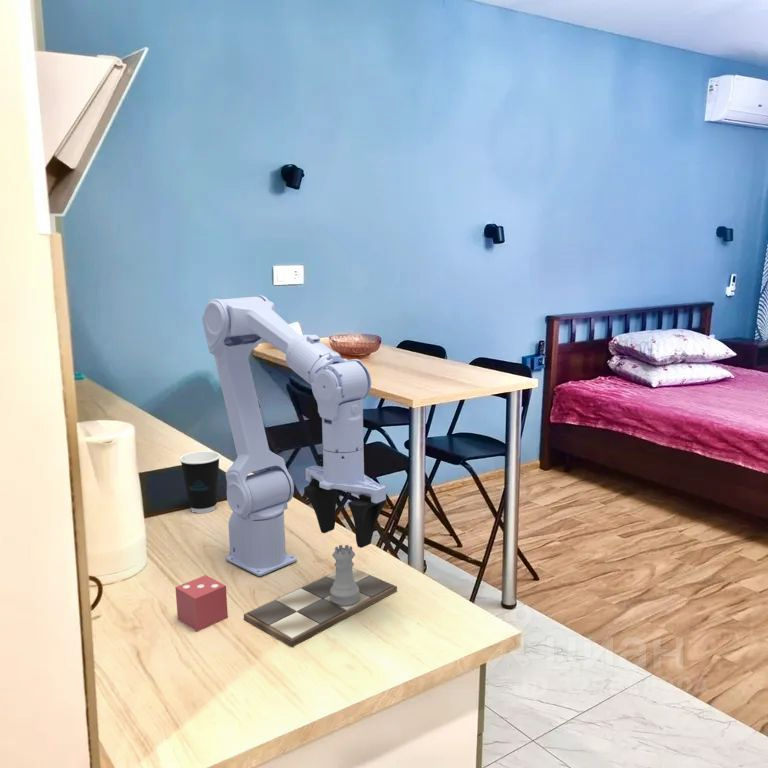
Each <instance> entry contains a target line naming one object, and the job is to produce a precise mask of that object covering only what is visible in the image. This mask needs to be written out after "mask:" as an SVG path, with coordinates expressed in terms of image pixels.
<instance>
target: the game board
mask: <svg viewBox="0 0 768 768" xmlns="http://www.w3.org/2000/svg"><path fill="white" fill-rule="evenodd" d="M352 571H353V576H354V580H355V582H356V585H357V586H358V587H359V594H360V598H359V600H358V601H357V602H356V603H355V604H353V605H349V606H339V605H336V604H334V603H333V602H332V601H331V599H330V595H331V593H330V589H331V587H332V586H333V583H334V581H335V575H336V571H334V572H332V573H329V574H328V575H326V576H324V577H321V578H319V579H317V580H314V581H313V582H310V583H309V584H306V585H305V586H302V587H300V588H297V589H295V590H293V591H291V592H288V593H286V594H285V595H283V596H280V597H278V598H275V599H274V600H271V601H269V602H267V603H265V604H262V605H261V606H258V607H256V608H254V609H252V610H250V611H248V612H246V613H243V620H244V621H246V622H247V623H249V624H251V625H252V626H255V627H257V628H258V629H260V630H262V631H263V632H265V633H267V634H269V635H270V636H272V637H273V638H275V639H277V640H278V641H280V642H282V643H284V644H286V645H287V646H288V647H290V648H294V647H295V646H297V645H299V644H301V643H303V642H304V641H306V640H309V639H310V638H312V637H314V636H316V635H317V634H319V633H321V632H323V631H325V630H327V629H328V628H331V627H333V626H334V625H336V624H338V623H340V622H342V621H344V620H346V619H348V618H350V617H351V616H353V615H355V614H358V613H359V612H360V611H363V610H364V609H366V608H368V607H370V606H372V605H373V604H376V603H377V602H379V601H381V600H383V599H385V598H387V597H389V596H391V595H392V594H394V593H397V592H398V586H397V585H395V584H392V583H391V582H387V581H385V580H382V579H380V578H378V577H375V576H373V575H371V574H369V573H366V572H365V571H362V570H359V569H358V568H355V567H352Z"/></svg>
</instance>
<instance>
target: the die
mask: <svg viewBox="0 0 768 768" xmlns="http://www.w3.org/2000/svg"><path fill="white" fill-rule="evenodd" d="M174 588H175V599H176V600H175V601H176V612H177V613H176V615H177V620H178V621H180V622H182V623H183V624H184V625H186V626H188V627H189V628H191V629H192V630H195V631H196V632H200V631H202V630H204V629H207V628H208V627H211V626H212V625H215V624H217V623H219V622H221V621H224V620H225V619H227V618H228V617H229V614H228V598H227V597H228V596H227V585H225V584H224V583H221V582H220V581H218V580H216V579H214V578H212V577H210V576H208V575H207V574H204V575H202V576H200V577H197V578H195V579H192V580H190V581H187V582H185V583H183V584H179V585H178V586H175V587H174Z"/></svg>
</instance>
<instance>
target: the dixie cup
mask: <svg viewBox="0 0 768 768" xmlns="http://www.w3.org/2000/svg"><path fill="white" fill-rule="evenodd" d="M220 459H221V454H220V453H219V452H217V451H212V450H200V451H199V450H198V451H192V452H188V453H184V454H183V455H181V456H180V457H179V459H178V460H179V462H180V464H181V469H182V475H183V479H184V484H185V490H186V495H187V500H188V505H189V507H190V510H192V511H193V512H192V511H191V512H192V513H194V512H196V513H195V514H206V512H208V513H210V511H211V512H213V511H215V510H216V507H217V506H216V505H217V503H218V492H219V491H218V489H219V488H218V487H219V486H218V485H219V471H220V470H219V469H220V468H219V467H220ZM214 509H215V510H214ZM212 510H213V511H212Z"/></svg>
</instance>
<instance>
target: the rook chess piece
mask: <svg viewBox="0 0 768 768" xmlns="http://www.w3.org/2000/svg"><path fill="white" fill-rule="evenodd" d="M355 556H356V552H354V551H353V547H352V546H349V545H348V544H345V546H344V547H343V544H339V545H338V546H335V548H334V552H333V553H332V557H333V559H335V562H334V567H335V572H336V575H335V581H334V583H333V586H332V587H331V589H330V593H331V595H330V599H331V601H332V602H333V603H334V604H336V605H339V606H349V605H353V604H355V603H356V602H357V601H358V600H359V598H360V594H359V587H358V586H357V585H356V582H355V580H354V576H353V571H352V568H353V566H354V565H355V564H354V562H353V559H354V557H355Z"/></svg>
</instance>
